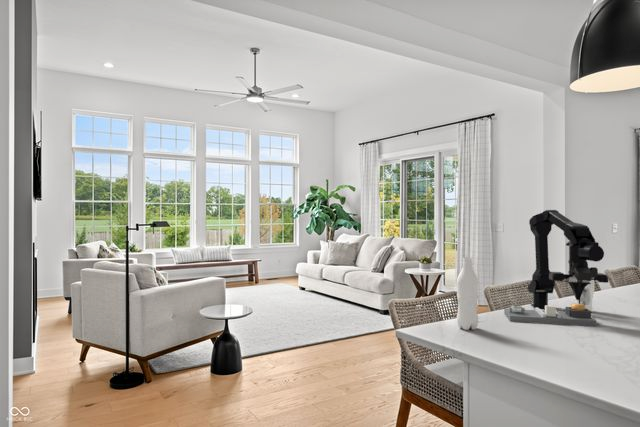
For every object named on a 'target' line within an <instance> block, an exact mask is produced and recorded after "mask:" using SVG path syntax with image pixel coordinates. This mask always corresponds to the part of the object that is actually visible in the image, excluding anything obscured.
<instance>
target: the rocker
mask: <svg viewBox="0 0 640 427" xmlns="http://www.w3.org/2000/svg"><path fill="white" fill-rule="evenodd" d="M510 307H512V309H522V307H523V306H519V305H511V306H510Z"/></svg>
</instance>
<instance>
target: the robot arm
mask: <svg viewBox="0 0 640 427" xmlns="http://www.w3.org/2000/svg"><path fill="white" fill-rule="evenodd" d="M528 224H529V227H530V231H531V233H532V235H533V236H534V241H535V242H534V245H535V246H534V248H535V270H534V272H533V274H532V279H531V281H530V283H529V284H528V286H527V290H528V291H527V292H528V293H531V294H532V298H533V299H532V303H530V306H532V307H533V308H535V307H536V308H539V309H545V305H549V297H548V296H549V294H554V289H555V285H556V282H563V281H564V280H565V281H564V282H566V283H567V284H569V286H570V288H571V290H572V292H573V294H574V297H575V300H576V301H577V300H580V297H581V295H582V293H583V290H584V288H585V287H586V286H587V285H588V284H591V283H590V282H589V281H591V280H594V281H597V282H598V283H605V284H606V283H609V276H608V275H607V274H605V273H600V272H599V271H598V268H597V267H589V264H588V261H590V262H595V263H596V262H600V261H601V260H603V258H604V256H605V251H604V249H603V248H602V247H601V246H600V245H599V242H597V241H596V239H595V237H594V236H593V234H592V232H591V230H590V228H589V227H588V225H585V224H583V223H579V222H574V221H572V220H571V219H569V218H567V217H566V216H565V215H563V214H562V213H560V212H559V211H558V210H557V209H546V210H544V211H543V212H540V213H537V214H535V215H533V216H532V217H531V218H530V219H529V221H528ZM553 225H555V227H557V228H559V229H560V230H562V232H563V235H564V237H565V238H566V239H567V240H568V242H567V243H566V244H565V246H567V247H569V248H568V251H569V252H568V254H569V255H568V262H567V263H568V264H569V265H568V266H569V267H568V273H567V274H565V273H563V272H561V271H550V264H549V262H550V261H549V240H548V238H549V234H550V233H551V231H552V226H553ZM576 279H577V282H576Z"/></svg>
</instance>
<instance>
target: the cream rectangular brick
mask: <svg viewBox="0 0 640 427" xmlns="http://www.w3.org/2000/svg"><path fill="white" fill-rule="evenodd" d="M544 311H545V314H546V316H551V317H556V311H557V306H555V305H550V304H548V305H545V308H544Z"/></svg>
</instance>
